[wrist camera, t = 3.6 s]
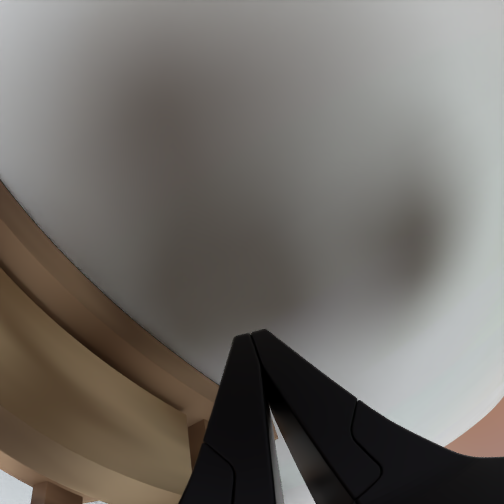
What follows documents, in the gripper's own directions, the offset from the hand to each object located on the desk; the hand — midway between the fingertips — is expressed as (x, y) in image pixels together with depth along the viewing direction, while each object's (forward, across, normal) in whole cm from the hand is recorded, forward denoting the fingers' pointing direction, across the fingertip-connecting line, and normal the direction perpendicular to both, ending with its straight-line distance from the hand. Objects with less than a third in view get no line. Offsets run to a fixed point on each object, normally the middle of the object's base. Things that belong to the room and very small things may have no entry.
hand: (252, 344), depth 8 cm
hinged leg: (+1, +7, -2) cm, 8 cm away
